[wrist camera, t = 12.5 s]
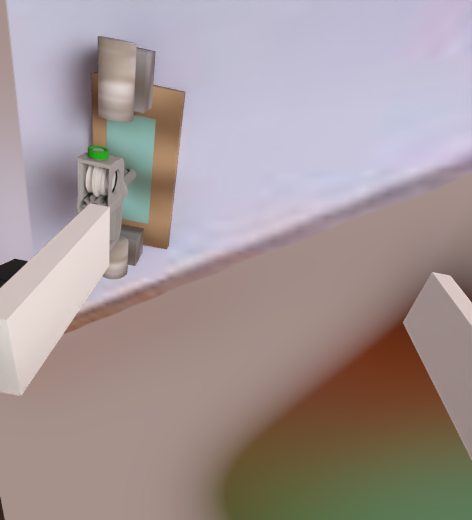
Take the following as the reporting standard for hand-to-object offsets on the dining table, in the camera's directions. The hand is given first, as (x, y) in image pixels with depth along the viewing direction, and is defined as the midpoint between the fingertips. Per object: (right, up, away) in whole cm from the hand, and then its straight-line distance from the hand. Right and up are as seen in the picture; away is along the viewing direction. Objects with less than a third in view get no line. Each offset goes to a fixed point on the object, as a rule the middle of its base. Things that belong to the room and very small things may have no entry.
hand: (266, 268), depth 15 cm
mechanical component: (-13, +10, +25) cm, 30 cm away
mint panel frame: (-12, +11, +26) cm, 31 cm away
